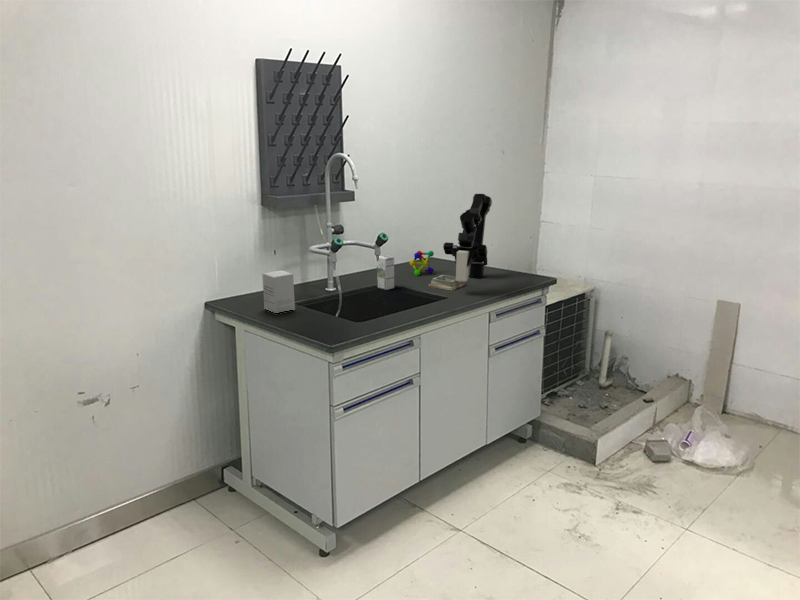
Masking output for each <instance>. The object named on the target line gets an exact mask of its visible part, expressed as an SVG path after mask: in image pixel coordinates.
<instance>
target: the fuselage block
mask: <svg viewBox="0 0 800 600" xmlns="http://www.w3.org/2000/svg"><path fill="white" fill-rule="evenodd" d="M468 258H469V251H461V250H459V251H458V252H457V257H456V263H455V277H456V281H462V282H467V281H468V280H469V277H468V275H469V274H470V268H469V267H470V265H469V266H468V267H467V262H468Z"/></svg>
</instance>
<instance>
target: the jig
mask: <svg viewBox="0 0 800 600" xmlns="http://www.w3.org/2000/svg"><path fill="white" fill-rule="evenodd" d="M430 281H431V283H429V284H427V286H428V287H429V288H435V289H442V290H446V291H447V290H448V291H455V290H456V289H459V288H461V287H464V286H466V282H464V281H456V276H453V275H448V274H441V275H439V276H436V277H433V278H431V279H430Z"/></svg>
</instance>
